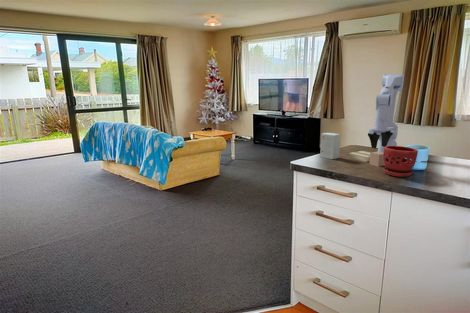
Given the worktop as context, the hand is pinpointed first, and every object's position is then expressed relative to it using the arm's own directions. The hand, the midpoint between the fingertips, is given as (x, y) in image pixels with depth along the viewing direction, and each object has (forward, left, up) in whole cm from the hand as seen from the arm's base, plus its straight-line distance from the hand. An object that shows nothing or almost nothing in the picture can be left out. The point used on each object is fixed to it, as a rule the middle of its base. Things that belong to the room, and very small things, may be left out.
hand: (378, 147), depth 151 cm
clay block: (0, 0, -9) cm, 9 cm away
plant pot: (+6, +15, -9) cm, 19 cm away
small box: (+9, -23, -9) cm, 26 cm away
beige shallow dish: (-5, -12, -9) cm, 16 cm away
